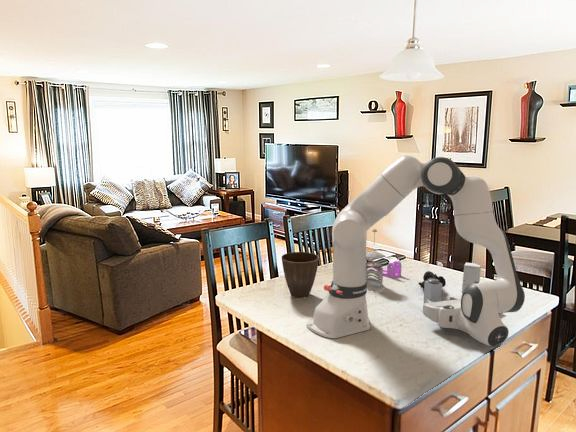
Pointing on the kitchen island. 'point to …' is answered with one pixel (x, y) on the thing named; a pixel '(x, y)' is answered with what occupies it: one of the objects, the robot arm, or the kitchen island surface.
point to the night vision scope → (431, 276)
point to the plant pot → (300, 272)
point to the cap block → (433, 290)
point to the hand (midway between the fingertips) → (439, 300)
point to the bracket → (392, 270)
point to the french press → (372, 282)
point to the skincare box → (471, 274)
